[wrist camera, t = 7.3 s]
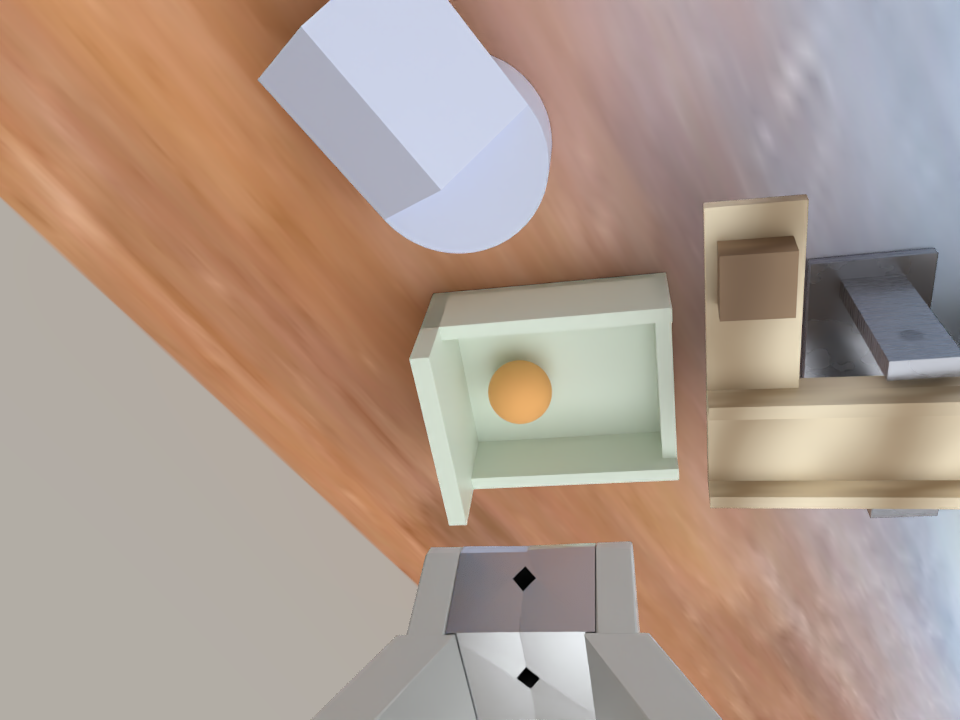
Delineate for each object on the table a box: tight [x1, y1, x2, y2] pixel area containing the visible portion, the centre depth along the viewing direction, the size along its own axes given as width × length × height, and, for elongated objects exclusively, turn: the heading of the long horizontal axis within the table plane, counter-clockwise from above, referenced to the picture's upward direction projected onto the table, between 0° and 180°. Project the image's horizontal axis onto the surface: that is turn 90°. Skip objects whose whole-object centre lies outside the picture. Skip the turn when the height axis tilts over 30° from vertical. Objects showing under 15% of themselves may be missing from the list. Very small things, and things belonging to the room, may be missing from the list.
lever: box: [703, 194, 960, 509], centre depth 34 cm, size 18×15×6 cm
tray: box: [409, 272, 679, 525], centre depth 44 cm, size 13×11×7 cm
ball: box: [488, 360, 552, 424], centre depth 45 cm, size 4×4×4 cm
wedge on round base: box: [258, 0, 552, 253], centre depth 37 cm, size 9×7×13 cm
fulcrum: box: [802, 248, 960, 518], centre depth 39 cm, size 12×11×9 cm
